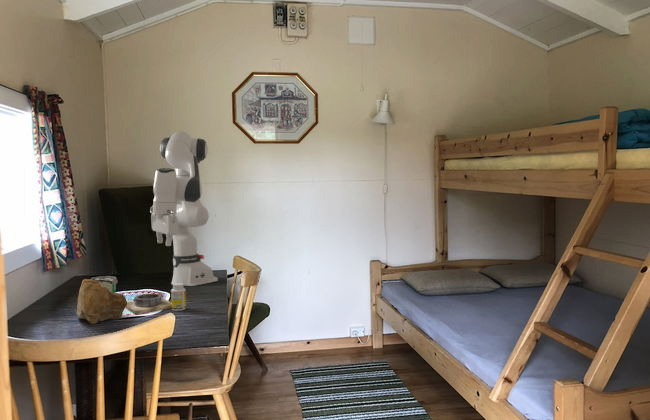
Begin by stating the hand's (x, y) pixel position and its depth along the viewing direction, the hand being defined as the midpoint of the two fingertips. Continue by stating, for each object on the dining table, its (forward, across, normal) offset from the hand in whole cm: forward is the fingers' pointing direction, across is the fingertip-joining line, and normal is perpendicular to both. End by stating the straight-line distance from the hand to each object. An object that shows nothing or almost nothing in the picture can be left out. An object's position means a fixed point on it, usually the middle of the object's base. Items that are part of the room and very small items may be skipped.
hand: (164, 244), depth 199 cm
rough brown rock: (+28, +1, +22) cm, 35 cm away
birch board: (+26, +8, +3) cm, 28 cm away
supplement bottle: (+26, -4, -5) cm, 27 cm away
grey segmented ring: (+25, +8, +3) cm, 26 cm away
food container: (+27, +30, +13) cm, 42 cm away
